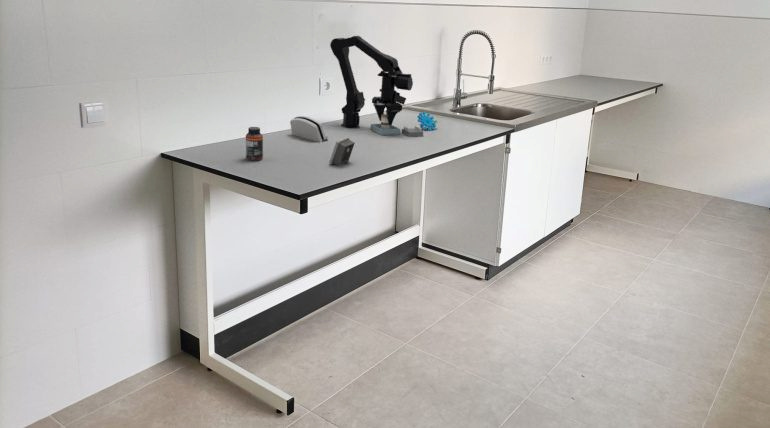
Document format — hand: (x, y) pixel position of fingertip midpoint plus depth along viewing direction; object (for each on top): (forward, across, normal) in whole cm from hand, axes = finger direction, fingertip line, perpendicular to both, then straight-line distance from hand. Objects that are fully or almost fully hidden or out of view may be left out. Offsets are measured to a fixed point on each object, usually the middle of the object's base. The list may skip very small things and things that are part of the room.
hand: (385, 123), depth 291 cm
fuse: (+4, 0, 0) cm, 4 cm away
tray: (+4, 0, 0) cm, 4 cm away
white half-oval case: (+4, -5, +38) cm, 38 cm away
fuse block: (+4, -7, -10) cm, 13 cm away
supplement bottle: (+4, -33, +68) cm, 76 cm away
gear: (+4, +3, -23) cm, 24 cm away
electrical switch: (+4, -44, +39) cm, 59 cm away
